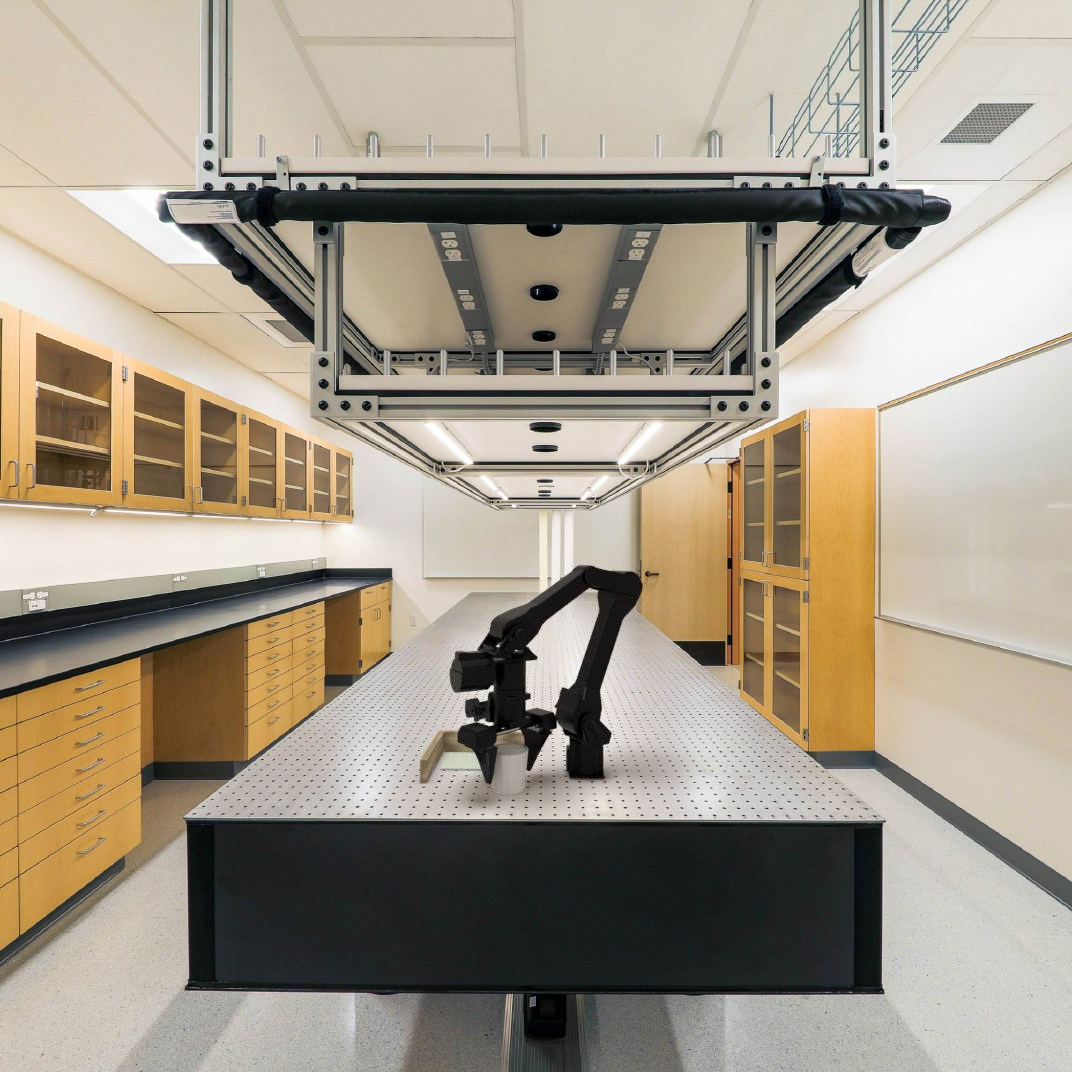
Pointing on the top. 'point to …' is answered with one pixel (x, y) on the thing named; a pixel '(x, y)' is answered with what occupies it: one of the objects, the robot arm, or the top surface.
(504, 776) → the white cup
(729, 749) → the top surface
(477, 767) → the pad
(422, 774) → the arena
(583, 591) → the robot arm
